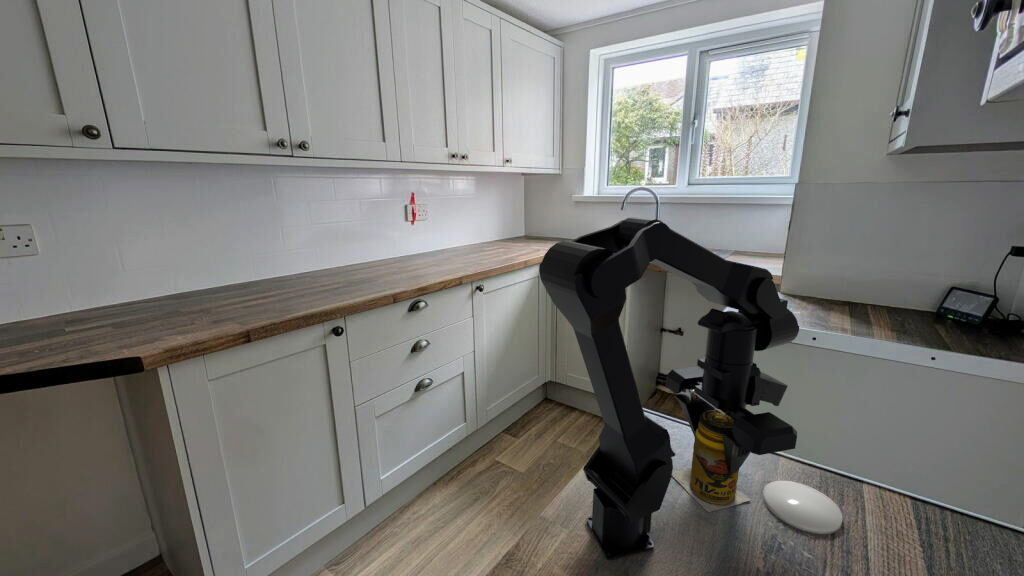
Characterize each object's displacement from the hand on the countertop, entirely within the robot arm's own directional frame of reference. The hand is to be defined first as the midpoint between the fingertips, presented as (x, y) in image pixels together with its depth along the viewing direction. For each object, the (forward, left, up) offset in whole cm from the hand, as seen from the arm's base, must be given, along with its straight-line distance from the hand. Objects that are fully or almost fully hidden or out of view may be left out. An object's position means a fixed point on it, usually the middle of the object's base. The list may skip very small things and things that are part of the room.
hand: (716, 458), depth 61 cm
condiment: (0, +1, -6) cm, 6 cm away
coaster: (+10, -6, -6) cm, 12 cm away
